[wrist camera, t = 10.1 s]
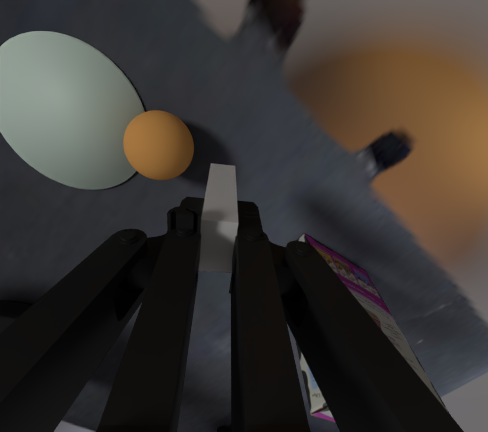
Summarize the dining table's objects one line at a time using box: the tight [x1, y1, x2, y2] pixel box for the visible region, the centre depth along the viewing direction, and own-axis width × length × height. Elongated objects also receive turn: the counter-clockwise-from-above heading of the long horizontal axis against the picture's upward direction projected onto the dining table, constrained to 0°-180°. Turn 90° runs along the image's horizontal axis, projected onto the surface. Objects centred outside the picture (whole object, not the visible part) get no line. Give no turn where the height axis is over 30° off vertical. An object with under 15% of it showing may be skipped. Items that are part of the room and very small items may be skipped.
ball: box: [123, 110, 194, 180], centre depth 21 cm, size 6×6×6 cm
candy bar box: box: [296, 234, 449, 422], centre depth 26 cm, size 11×5×16 cm, turn 55°
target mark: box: [0, 31, 145, 190], centre depth 23 cm, size 13×13×1 cm
